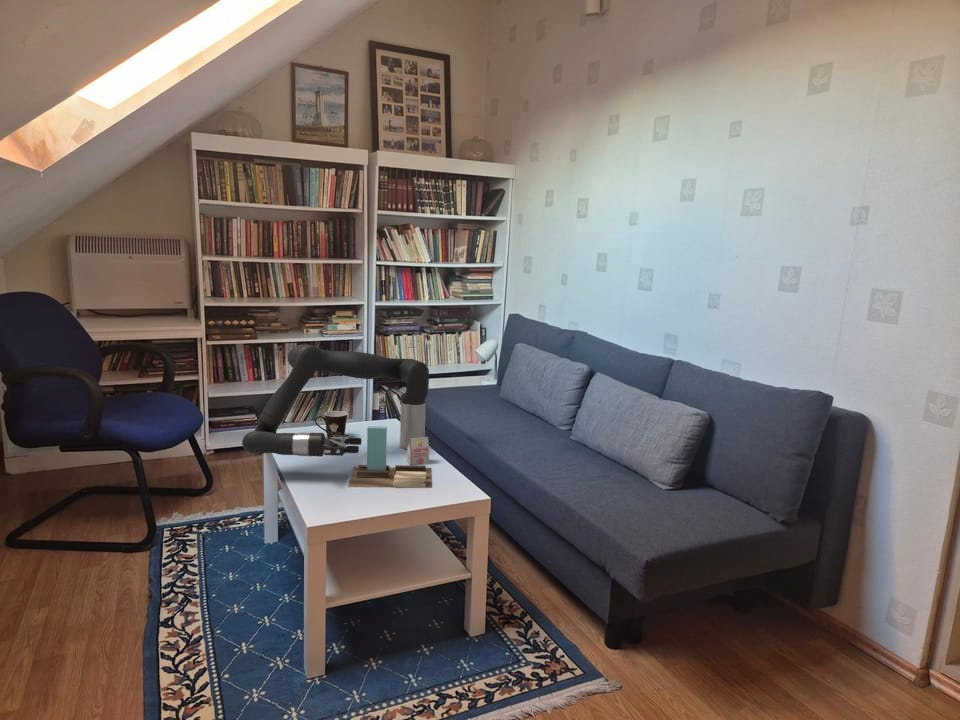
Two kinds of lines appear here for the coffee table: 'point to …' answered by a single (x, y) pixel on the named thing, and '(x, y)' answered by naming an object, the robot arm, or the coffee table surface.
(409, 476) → the pine offcuts
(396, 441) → the coffee table surface
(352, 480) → the walnut rack
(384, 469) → the teal panel
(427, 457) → the tea bag
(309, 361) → the robot arm
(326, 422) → the coffee mug
